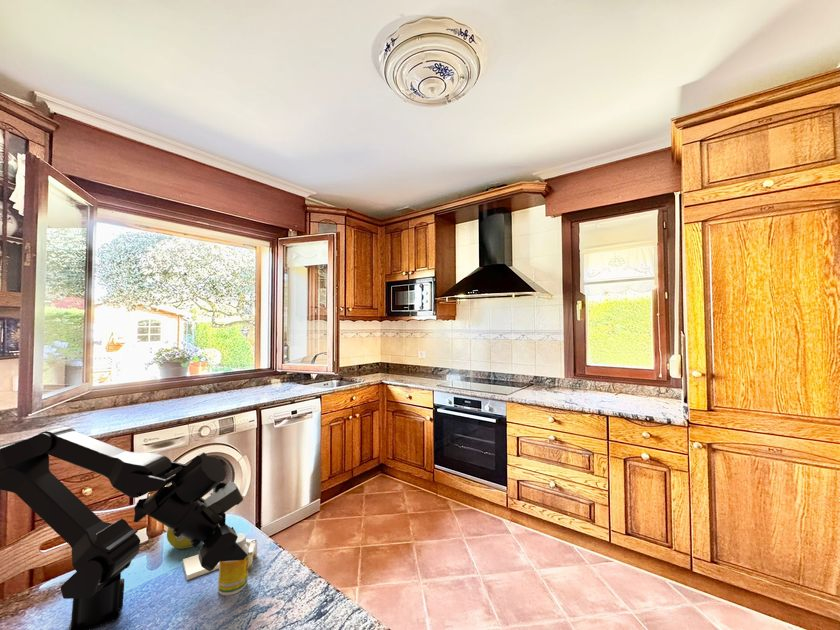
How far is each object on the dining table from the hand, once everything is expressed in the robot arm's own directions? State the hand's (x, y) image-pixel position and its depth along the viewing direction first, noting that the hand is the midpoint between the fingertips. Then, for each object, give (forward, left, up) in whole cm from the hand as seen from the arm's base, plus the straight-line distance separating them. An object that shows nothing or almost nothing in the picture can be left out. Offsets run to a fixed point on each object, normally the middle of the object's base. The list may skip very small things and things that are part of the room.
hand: (241, 550), depth 72 cm
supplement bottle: (-1, 0, -7) cm, 7 cm away
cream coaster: (-5, +12, -7) cm, 15 cm away
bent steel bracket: (+3, +8, -7) cm, 11 cm away
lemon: (-6, +23, -7) cm, 25 cm away
